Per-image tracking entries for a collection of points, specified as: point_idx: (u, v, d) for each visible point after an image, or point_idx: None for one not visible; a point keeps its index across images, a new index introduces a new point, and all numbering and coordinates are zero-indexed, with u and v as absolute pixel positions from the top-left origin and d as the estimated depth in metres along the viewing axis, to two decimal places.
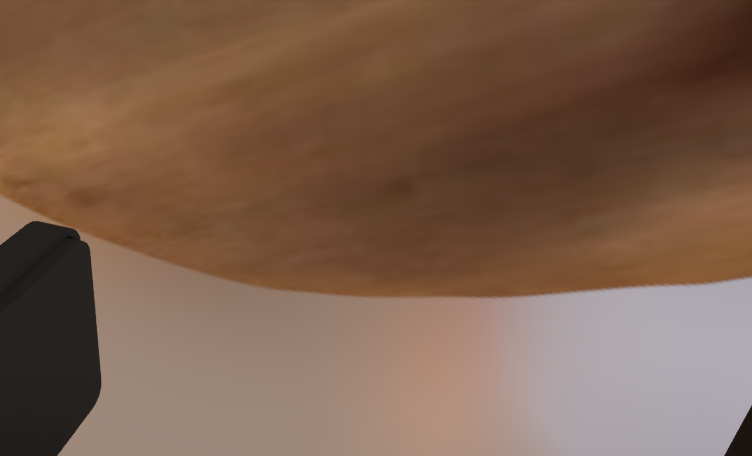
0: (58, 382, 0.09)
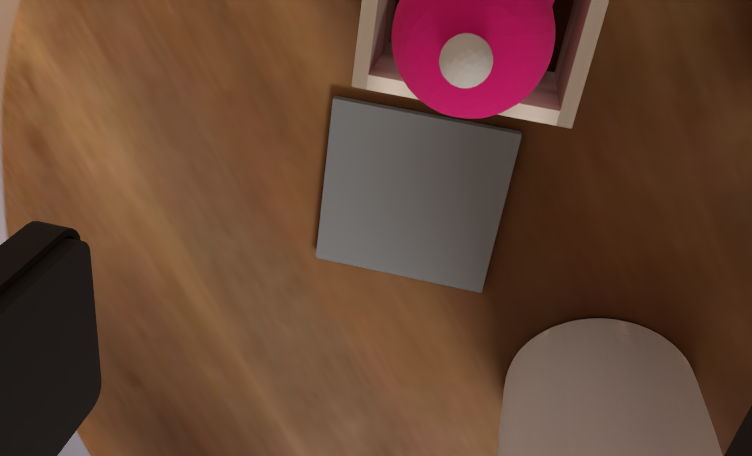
0: (58, 382, 0.09)
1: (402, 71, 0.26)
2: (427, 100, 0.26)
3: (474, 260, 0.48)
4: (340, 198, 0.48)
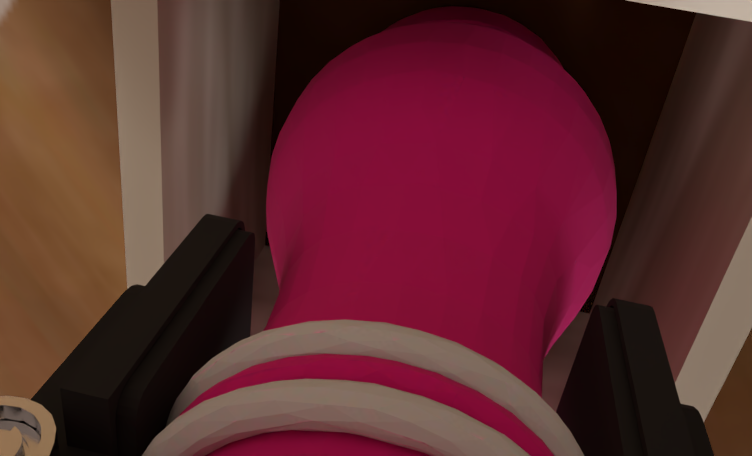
0: None
1: None
2: None
3: None
4: None
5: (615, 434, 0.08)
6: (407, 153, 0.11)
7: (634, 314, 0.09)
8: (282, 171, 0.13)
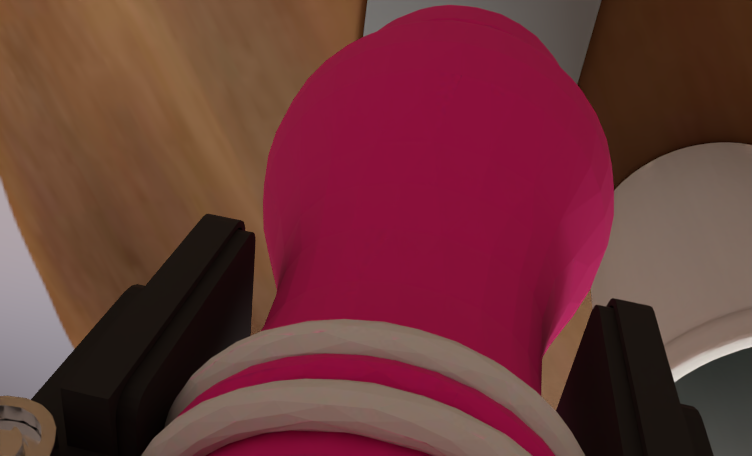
0: None
1: None
2: None
3: (562, 65, 0.38)
4: None
5: (615, 434, 0.08)
6: (404, 151, 0.11)
7: (634, 314, 0.09)
8: (279, 170, 0.13)
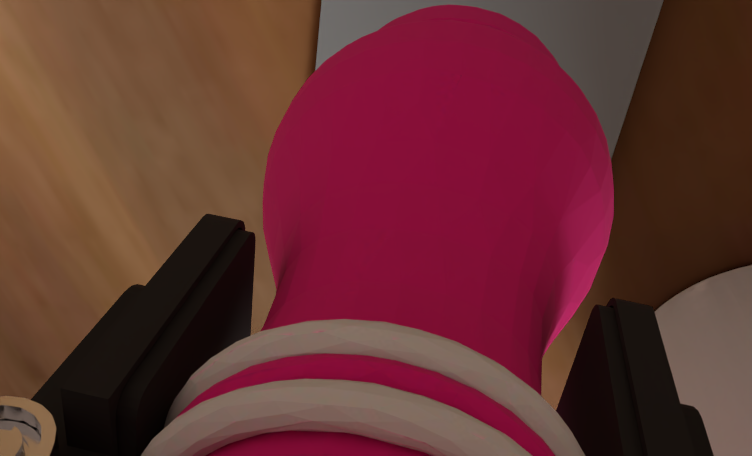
0: None
1: None
2: None
3: None
4: None
5: (615, 434, 0.08)
6: (404, 151, 0.11)
7: (634, 314, 0.09)
8: (278, 170, 0.13)
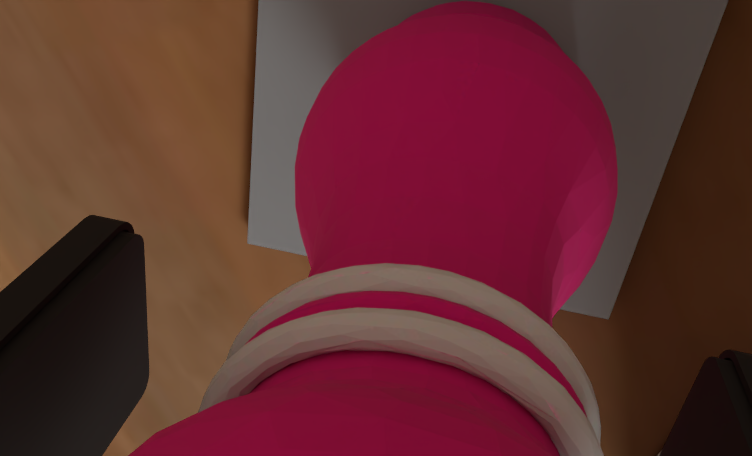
0: (114, 371, 0.10)
1: None
2: None
3: None
4: (294, 105, 0.21)
5: None
6: (428, 131, 0.12)
7: None
8: (312, 150, 0.14)
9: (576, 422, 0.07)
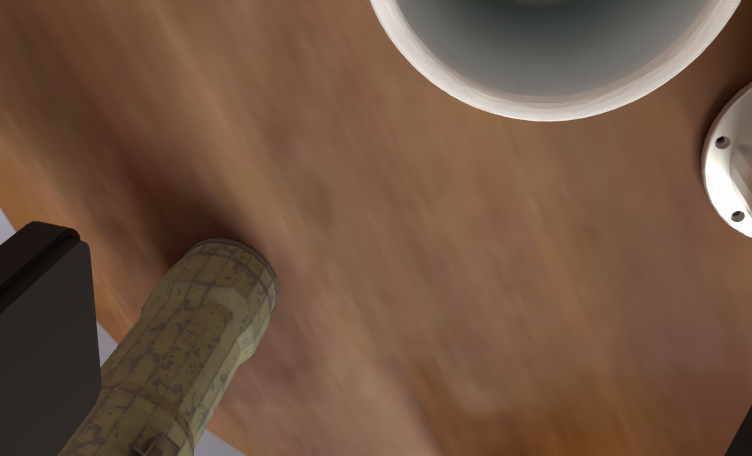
0: (58, 382, 0.09)
1: None
2: None
3: None
4: None
5: None
6: None
7: None
8: None
9: None
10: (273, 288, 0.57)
